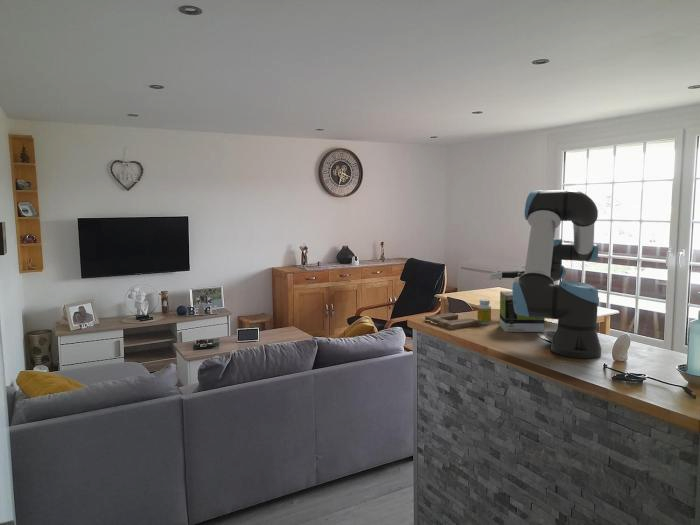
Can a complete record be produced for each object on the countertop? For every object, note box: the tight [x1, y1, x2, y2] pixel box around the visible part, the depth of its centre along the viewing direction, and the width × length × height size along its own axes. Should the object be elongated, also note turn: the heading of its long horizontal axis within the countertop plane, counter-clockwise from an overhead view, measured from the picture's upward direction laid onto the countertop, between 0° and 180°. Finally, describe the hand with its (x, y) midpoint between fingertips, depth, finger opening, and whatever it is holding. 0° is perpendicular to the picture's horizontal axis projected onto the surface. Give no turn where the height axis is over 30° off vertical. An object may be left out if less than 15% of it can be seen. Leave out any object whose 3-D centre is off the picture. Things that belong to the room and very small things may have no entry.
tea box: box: [499, 290, 546, 333], centre depth 192 cm, size 15×10×15 cm, turn 84°
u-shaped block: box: [424, 312, 480, 331], centre depth 203 cm, size 17×14×2 cm
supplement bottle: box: [476, 298, 492, 325], centre depth 202 cm, size 5×5×10 cm
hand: (502, 278), depth 206 cm, fingers open, 13 cm apart
